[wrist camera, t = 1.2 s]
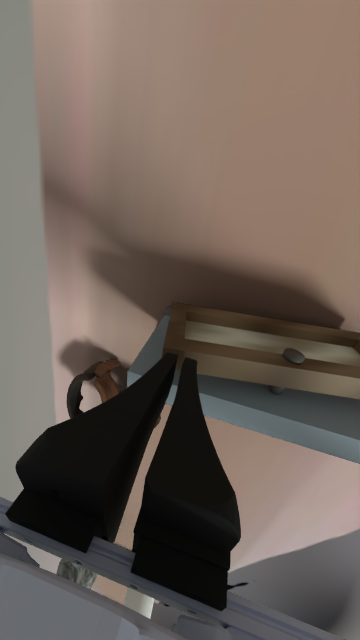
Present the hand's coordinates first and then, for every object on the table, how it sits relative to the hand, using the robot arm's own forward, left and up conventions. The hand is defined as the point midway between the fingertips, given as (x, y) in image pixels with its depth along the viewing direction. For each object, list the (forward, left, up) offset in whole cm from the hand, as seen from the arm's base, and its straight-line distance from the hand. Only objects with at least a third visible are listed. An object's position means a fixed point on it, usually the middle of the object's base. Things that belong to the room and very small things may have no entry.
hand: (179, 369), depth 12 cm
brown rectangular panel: (-6, +1, -8) cm, 10 cm away
